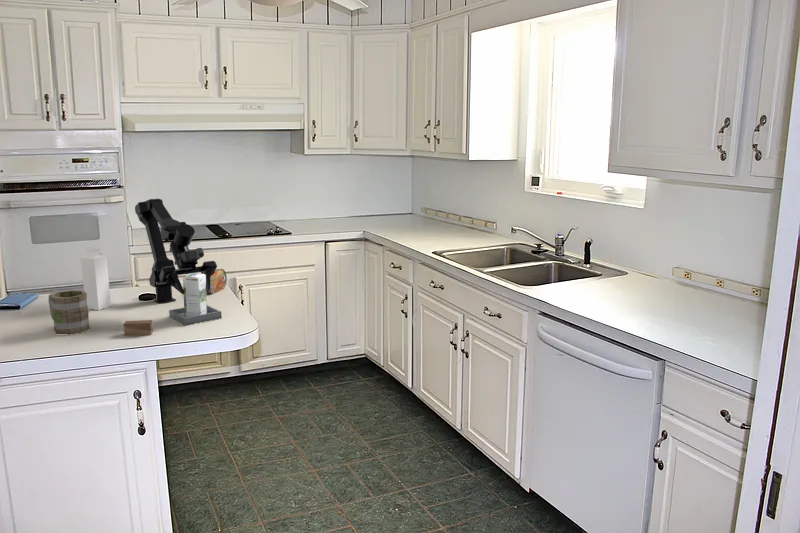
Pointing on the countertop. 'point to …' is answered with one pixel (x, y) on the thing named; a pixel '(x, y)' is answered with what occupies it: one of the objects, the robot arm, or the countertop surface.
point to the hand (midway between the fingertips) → (196, 291)
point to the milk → (95, 279)
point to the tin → (217, 281)
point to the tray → (179, 316)
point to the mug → (69, 311)
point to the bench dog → (138, 327)
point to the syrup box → (194, 294)
